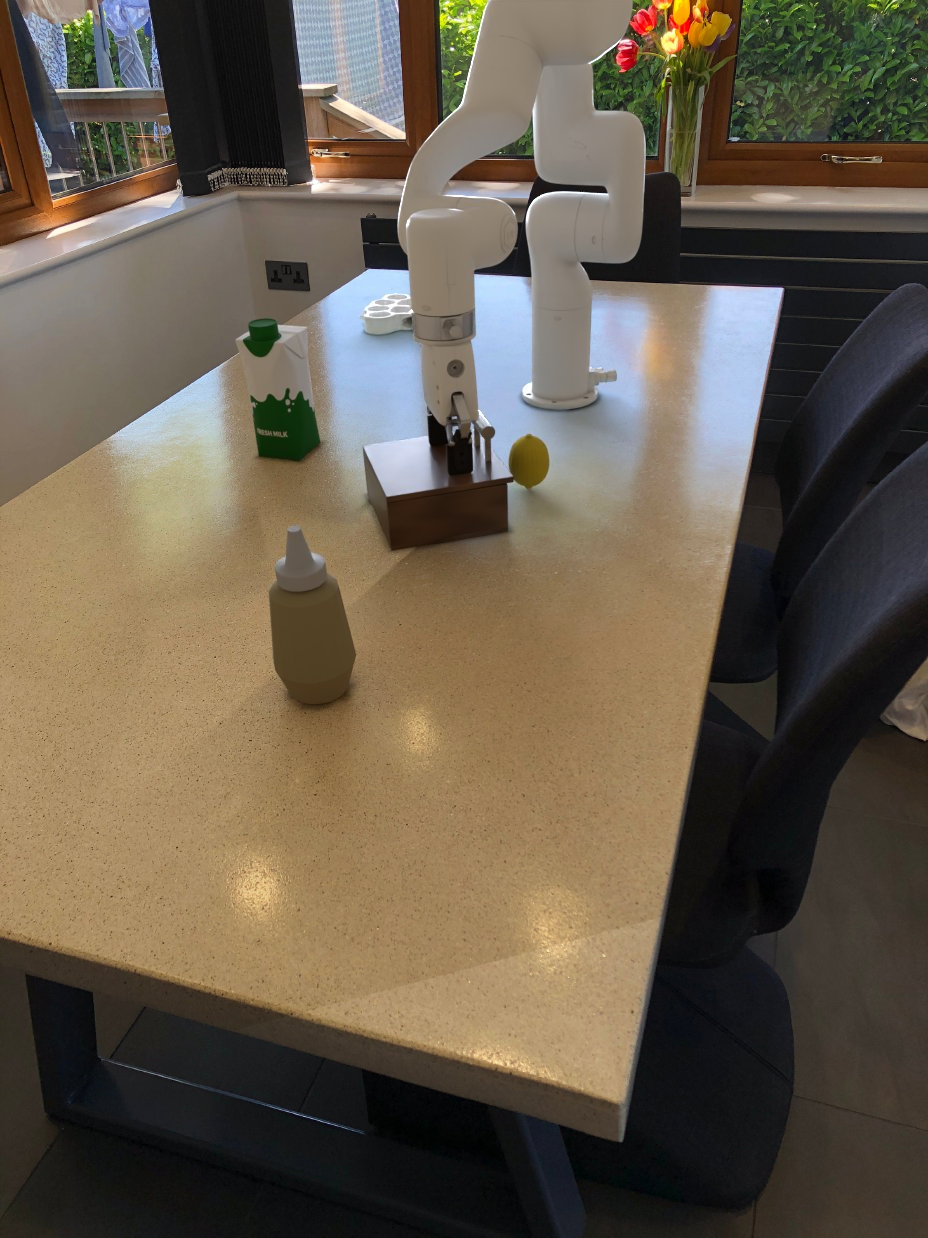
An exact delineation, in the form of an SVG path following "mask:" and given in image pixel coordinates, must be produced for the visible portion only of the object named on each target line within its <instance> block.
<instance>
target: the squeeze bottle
mask: <svg viewBox="0 0 928 1238" xmlns="http://www.w3.org/2000/svg"><path fill="white" fill-rule="evenodd" d="M286 531H287V533H286V543H285V556H283V557H281V558H280V559H279V560H277V562H276V563H275V565H274V572H275V578H276V581H274V582H273V583H272V584H271V586H270V588H269V590H268V604H269V615H270V631H271V646H272V647H271V648H272V662H273V667H274V671H275V673H276V675H277V676H278V678H279V679H280V680H281V681H282V683H283V685H284V686H285V688H286V689H287V691H288V692H289V694H290V695H291V697H293V699H294V700H295V701H298V702H300V703H303V704H305V705H321V704H326V703H331V702H332V701H335V700H336V699H339V698H341V697H342V695H343V694H345V693H346V692H347V690H348V688H349V684H350V681H351V676H352V673H353V669H354V666H355V661H356V658H357V651H356V648H355V647H356V646H355V644H354V641H353V636H352V632H351V628H350V625H349V621H348V617H347V612H346V609H345V604H344V601H343V600H344V599H343V596H342V593H341V589H340V585H339V582H338V579H337V578H336V577H334V576H333V575H332V574H330V573H328V570H327V563H326V561H325V558H324V557H323V556H322V555H320V554H319V553H315V552H312V551H311V549H310V547H309V545H308V542H307V540H306V537H305V535H304V532H303V530H302V528H301V526H299V525H291V526H289V527H288V528H287V530H286Z"/></svg>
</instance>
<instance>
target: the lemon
mask: <svg viewBox="0 0 928 1238" xmlns="http://www.w3.org/2000/svg"><path fill="white" fill-rule="evenodd" d="M508 470H509V471H510V473H511V474H512V475H513V477H514V482H515V483H516V484H518V485H519V486H522V487H524V488H525V489H527V490H531V489H532V488H533V487H536V486H538V485H539V484H541V483H542V482H543V481H544V480H545V479H546V478H547V474H548V473H549V470H550V454H549V450H548V447H547V445H546V443H545V442H544V441H543V440H542V439H540V438H539V437H538V436H536V435H533V434H531V433H527V434H525V435H523V436H521V437H519V438H518V439H516V440H515V441H514V442H513V443H512V446H511V447H510V450H509V455H508Z"/></svg>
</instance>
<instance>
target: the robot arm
mask: <svg viewBox="0 0 928 1238" xmlns="http://www.w3.org/2000/svg"><path fill="white" fill-rule="evenodd" d="M633 4H634V0H487V2H486V5H485V7H484V10H483V14H482V18H481V22H480V26H479V29H478V34H477V39H476V42H475V45H474V46H475V47H474V50H473V54H472V59H471V63H470V67H469V71H468V75H467V80H466V84H465V88H464V92H463V97H462V101H461V103H460V105H459V106H458V107H457V108H456V109H455V110H454V111H453V112H452V113H451V114H450V115H448V116H447V117H446V118H445V119H444V120H443V121H442V122H441V123H440V124H439V125H438V126H437V127H436V128H435V129H434V131H432V133H431V134H430V135H429V136H428V138H427V139H426V140H425V141H424V142H423V143H422V145H421V146H420V147H419V149H418V151H417V152H416V153H415V155H414V156H413V159H412V161H411V163H410V166H409V168H408V171H407V175H406V178H405V183H404V187H403V191H402V195H401V199H400V205H399V209H398V215H397V216H398V217H397V238H398V242H399V245H400V247H401V249H402V251H403V253H405V254H406V255H407V267H408V280H409V297H410V298H411V313H412V328H413V330H412V338H413V340H414V341H415V342H417V343H419V344H420V358H421V359H420V361H421V363H420V364H421V381H422V391H423V392H422V393H423V398H424V402H425V404H426V412H427V416H426V420H427V436H428V438H429V443H430V445H440V444H446V443H449V444H446V455H447V472H448V474H449V475H451V476H452V475H458V474H465V473H471V472H472V471H473V447H472V432H471V431H472V430H470V429H472V423H471V421H472V422H476V421H477V420H478V418H479V411H478V410H479V399H478V387H477V386H478V385H477V383H478V382H477V371H476V364H475V356H474V349H473V343H472V340H473V339H475V338H476V336H477V325H476V324H477V323H476V322H477V321H476V289H475V288H476V287H475V285H476V284H475V283H476V282H475V271H476V270H481V269H484V268H490V267H491V268H492V267H494V266H497V265H499V264H501V263H502V262H504V261H505V260H506V259H507V258H508V257H509V256H510V254H511V253H512V252H513V250H514V248H515V245H516V243H517V239H518V231H519V225H518V219H517V216H516V213H515V212H514V210H513V208H512V207H511V206H510V205H509V204H508V203H507V202H506V201H503V200H501V199H498V198H494V197H486V196H467V195H453V194H451V195H450V194H442V193H443V190H444V188H445V186H446V185H447V184H448V182H449V180H451V178H453V176H454V175H456V174H457V173H458V172H459V171H460V170H461V169H463V168H465V167H467V165H469V164H471V163H473V162H475V161H476V160H480V159H482V158H483V157H486V156H488V155H490V154H492V153H494V152H496V151H498V150H500V149H503V148H505V147H507V146H509V145H510V144H513V143H515V142H517V140H519V139H521V138H522V137H523V136H524V135H525V134H526V132H527V131H528V129H529V127H530V124H531V121H532V135H533V158H534V166H535V171H536V173H537V175H538V177H539V178H541V179H542V180H543V181H545V182H548V183H551V184H557V185H558V184H559V185H572V186H573V185H574V186H601V187H604V189H606V192H607V193H599V192H598V193H597V192H585V191H583V192H582V191H581V192H580V191H552V192H547V193H544V194H540V196H537V197H536V198H535V199H533V201H532V202H531V204H530V205H529V207H528V209H527V211H526V216H525V235H526V241H527V247H528V254H529V261H530V272H531V273H530V274H531V382H529V383H527V384H525V386H524V387H522V391H521V392H522V393H521V396H522V400H523V401H525V402H526V403H527V404H529V405H530V406H533V407H536V408H540V409H545V410H546V409H547V410H559V411H560V410H562V411H563V410H573V409H579V408H583V407H586V406H589V405H591V404H592V403H594V402H595V401H596V400H597V399H598V395H599V389H598V387H597V386H599V385H600V384H603V383H614V382H616V381H617V379H618V374H617V370H615V369H609V370H604V368H603V367H595V368H592V367H591V366H590V363H591V362H590V361H591V339H592V338H591V337H592V336H591V335H592V310H593V287H592V283H591V280H590V277H589V275H588V273H587V271H586V270H585V268H584V267H583V266H582V264H581V263H583V262H584V263H597V264H599V263H601V264H624V263H628V262H630V261H631V260H633V259H634V258H635V256H636V255H637V253H638V251H639V249H640V245H641V241H642V235H643V223H644V198H645V196H644V195H645V178H646V177H645V175H646V136H645V130H644V127H643V124H642V122H641V120H640V118H638V116H637V115H635V114H634V113H632V112H629V111H625V110H597V109H596V107H595V104H594V70H593V66H592V63H594V62H596V61H597V60H599V59H600V58H602V57H603V56H604V55H606V54H607V53H608V52H610V51H611V50H612V49H614V47H616V46H617V45H618V44H619V42H621V40H622V39H623V38H624V36H625V34H626V33H627V30H628V27H629V25H630V22H631V18H632V14H633ZM454 417H455V418H454ZM454 427H457V429H455V430H453V429H454ZM453 432H454V435H453Z"/></svg>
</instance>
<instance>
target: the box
mask: <svg viewBox="0 0 928 1238" xmlns="http://www.w3.org/2000/svg"><path fill="white" fill-rule="evenodd" d="M362 457H363V465H364V466H363V467H364V474H365V483H366V493H367V497H368V500H369V502H370V504H371V507H372V509H373V512H374V514H375V516H376V518H377V520H378V523H379V525H380V527H381V530H382V532H383V535H384V537H385V539H386V542H387V544H388V547H389V549H390V551H391V552H393V551H399V550H400V551H401V550H405V549H406V550H407V549H411V548H416V547H417V548H418V547H423V546H428V545H437V544H441V543H447V542H453V541H459V540H465V539H470V538H476V537H482V536H483V537H484V536H488V535H494V534H500V533H505V532H509V496H508V494H509V492H508V491H509V490H508V489H509V486H508V484H509V483H506V484H499V485H493V486H487V487H481V488H475V489H469V490H462V491H456V492H450V493H444V494H438V495H432V496H426V497H419V498H413V499H407V500H401V501H395V502H389V503H387V502H386V500H385V497H384V495H383V493H382V491H381V489H380V487H379V484H378V482H377V480H376V478H375V476H374V473H373V471H372V469H371V467H370V465H369V463H368V460H367V458H366V456H365V454H364V452H363V451H362Z"/></svg>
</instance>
